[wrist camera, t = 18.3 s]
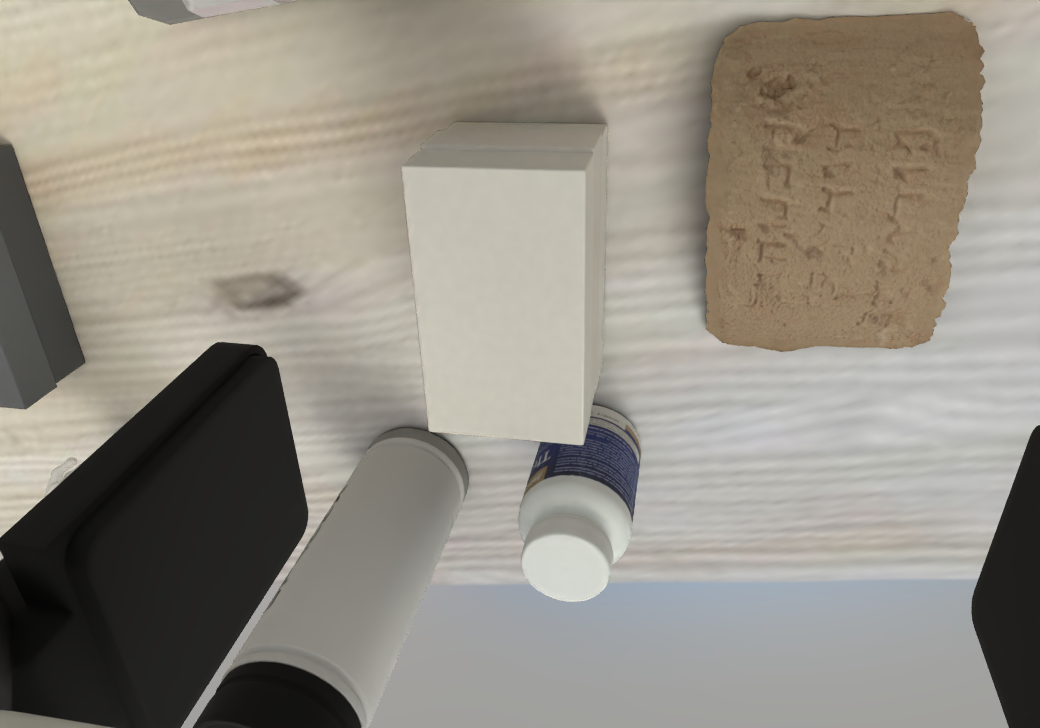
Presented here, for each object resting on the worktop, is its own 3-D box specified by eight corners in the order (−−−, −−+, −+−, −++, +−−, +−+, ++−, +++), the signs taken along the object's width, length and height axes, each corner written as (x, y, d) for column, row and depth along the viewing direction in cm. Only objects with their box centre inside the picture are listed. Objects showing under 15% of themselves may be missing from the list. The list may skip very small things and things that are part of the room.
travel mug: (488, 508, 47) (363, 845, 30) (387, 516, 49) (216, 838, 32) (456, 418, 45) (300, 734, 27) (352, 432, 46) (144, 733, 29)
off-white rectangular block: (454, 117, 36) (420, 144, 32) (608, 119, 35) (594, 148, 31) (470, 353, 42) (443, 403, 38) (603, 363, 41) (590, 415, 37)
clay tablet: (925, 346, 37) (939, 375, 35) (701, 342, 39) (700, 368, 37) (985, 6, 30) (1008, 14, 28) (710, 24, 32) (710, 32, 30)
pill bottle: (546, 393, 43) (506, 511, 34) (647, 409, 42) (632, 533, 33) (540, 475, 45) (502, 602, 37) (635, 490, 44) (618, 624, 36)
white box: (420, 148, 32) (400, 165, 30) (594, 152, 31) (585, 170, 29) (443, 403, 38) (428, 432, 36) (591, 415, 37) (583, 446, 35)
